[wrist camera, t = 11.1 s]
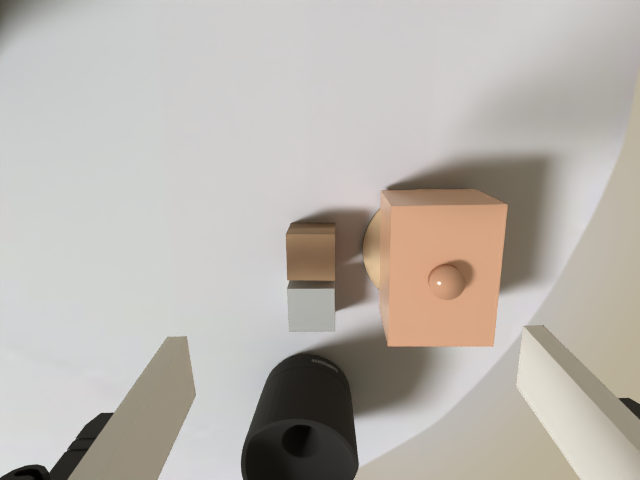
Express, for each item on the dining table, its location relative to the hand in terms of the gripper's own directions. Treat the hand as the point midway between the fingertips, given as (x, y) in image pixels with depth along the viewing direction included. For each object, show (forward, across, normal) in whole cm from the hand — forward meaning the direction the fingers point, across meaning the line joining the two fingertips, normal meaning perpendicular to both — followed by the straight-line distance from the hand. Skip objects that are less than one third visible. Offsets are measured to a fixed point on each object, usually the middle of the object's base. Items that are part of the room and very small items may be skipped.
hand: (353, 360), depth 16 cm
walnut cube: (+22, -2, -2) cm, 22 cm away
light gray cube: (+22, -2, -7) cm, 23 cm away
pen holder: (+22, -4, -18) cm, 28 cm away
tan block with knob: (+21, +8, -3) cm, 22 cm away
